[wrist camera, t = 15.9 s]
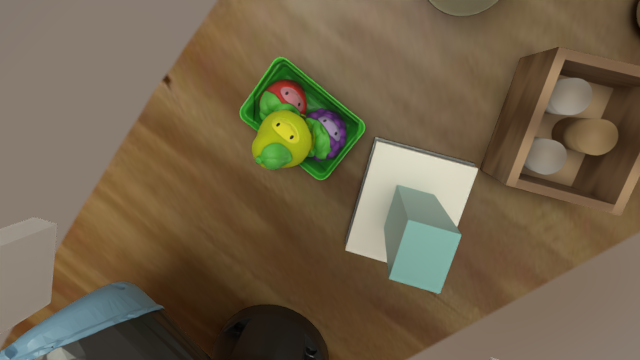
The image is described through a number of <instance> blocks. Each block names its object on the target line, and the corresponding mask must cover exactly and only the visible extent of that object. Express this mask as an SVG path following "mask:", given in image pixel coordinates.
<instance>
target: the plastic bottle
mask: <svg viewBox="0 0 640 360" xmlns="http://www.w3.org/2000/svg"><path fill="white" fill-rule="evenodd" d="M636 14H637V22H638V25H639V27H640V0H639V3H638V6H637V13H636Z"/></svg>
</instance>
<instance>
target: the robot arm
mask: <svg viewBox="0 0 640 360" xmlns="http://www.w3.org/2000/svg"><path fill="white" fill-rule="evenodd" d="M56 235H57V224H56V223H52V222H49V221H46V220H42V219H39V218H36V217H33V218H31V219H27V220H24V221H22V222H19V223H16V224H13V225H10V226H7V227H4V228H1V229H0V334H2V333H3V332H5V331H7V330H8V329H10V328H12V327H13V326H15V325H16V324H18V323H20V322H21V321H23V320H24V319H26V318H27V317H29V316H31V315H32V314H34V313H35V312H37V311H39V310H40V309H42V308H43V307H45V306H47V305H48V304H50V303H51V292H52V281H53V270H54V258H55V247H56ZM164 309H165V308H164V307H163V306H162V305H160V304H157V303H155V302H154V301H153V300H152V299H151V298H150V297H149V296H148V295H147V294H146V293H144V292H143V291H142V290H141V289H140V288H139V287H138V286H136V285H135V284H133V283H130V282H115V283H111V284H109V285H106V286H104V287H101V288H99V289H97V290H95V291H93V292H91V293H89V294H87V295H85V296H83V297H82V298H80V299H78V300H76V301H75V302H73V303H71V304H69V305H68V306H66V307H64V308H63V309H61V310H60V311H58V312H56V313H55V314H53V315H52V316H50V317H48V318H47V319H45V320H44V321H42V322H41V323H39V324H38V325H36V326H35V327H33V328H32V329H30V330H29V331H27V332H26V333H25V334H23V335H22V336H20V337H19V338H18V339H17V340H16V341H15V342H14V343H12V344H11V345H9V346H8V347H7V348H5V349H4V350H2V351H0V360H329V358H328V351H327V348H326V345H325V342H324V340H323V338H322V336H321V335H320V333H319V332H318V330H317V329H316V328H315V327H314V326H313V325H312V324H311V323H310V322H309V321H308V320H307V319H305V318H304V317H303V316H301V315H300V314H298V313H296V312H294V311H292V310H290V309H287V308H284V307H280V306H274V305H258V306H253V307H249V308H246V309H244V310H242V311H240V312H238V313H236V314H235V315H234V316H233V317H231V318H230V319H229V320H228V322H227V323H226V324H225V326H224V327H223V329H222V330H221V332H220V333H219V335H218V336H217V338H216V341H215V343H214V346H213V349H212V354H211V358H210V357H209V356H208V355H207V354H206V353H205V352H204V351H203V350H202V349H201V348H200V347H199V346H198V345H197V344H196V343H195V342H194V341H193V340H192V339H191V338H190V337H189V336H188V335H187V334H186V333H185V332H184V331H183V330H182V328H181V327H180V326H179V325H178V324H177V323H176V322H175V321H174V320H173V319H172V318H171V317H170V316H169V315H168V314H167V313H166V312H165V311H164ZM490 360H498V359H495V358H492V357H491V358H490Z"/></svg>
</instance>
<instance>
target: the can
mask: <svg viewBox="0 0 640 360" xmlns="http://www.w3.org/2000/svg"><path fill="white" fill-rule="evenodd" d="M429 1H430V2H431V4H432V5H434V6H435V7H436V8H437V9H439V10H440V11H442V12H444V13H447V14H450V15H454V16H469V15H474V14H477V13H480V12H482V11H484V10H486V9H488V8H490V7H491V6H493V5H494V4H495V3H496V2H497V1H498V0H429Z"/></svg>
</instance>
